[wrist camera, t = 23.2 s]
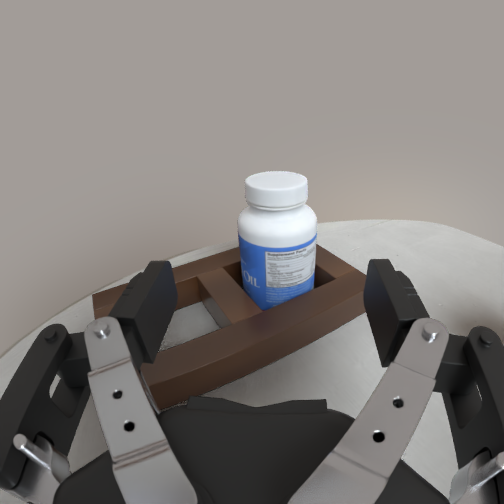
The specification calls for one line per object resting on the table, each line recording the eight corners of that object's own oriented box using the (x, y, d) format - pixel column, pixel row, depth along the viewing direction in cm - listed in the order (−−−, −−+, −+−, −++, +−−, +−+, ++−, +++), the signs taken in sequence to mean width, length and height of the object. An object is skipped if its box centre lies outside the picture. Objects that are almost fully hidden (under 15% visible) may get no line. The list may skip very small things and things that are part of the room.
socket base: (371, 308, 22) (377, 282, 20) (126, 421, 14) (109, 399, 13) (293, 251, 30) (293, 229, 29) (102, 318, 22) (91, 294, 21)
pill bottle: (240, 284, 26) (229, 172, 21) (300, 275, 26) (302, 165, 21) (250, 328, 21) (239, 196, 16) (322, 315, 22) (331, 187, 17)
